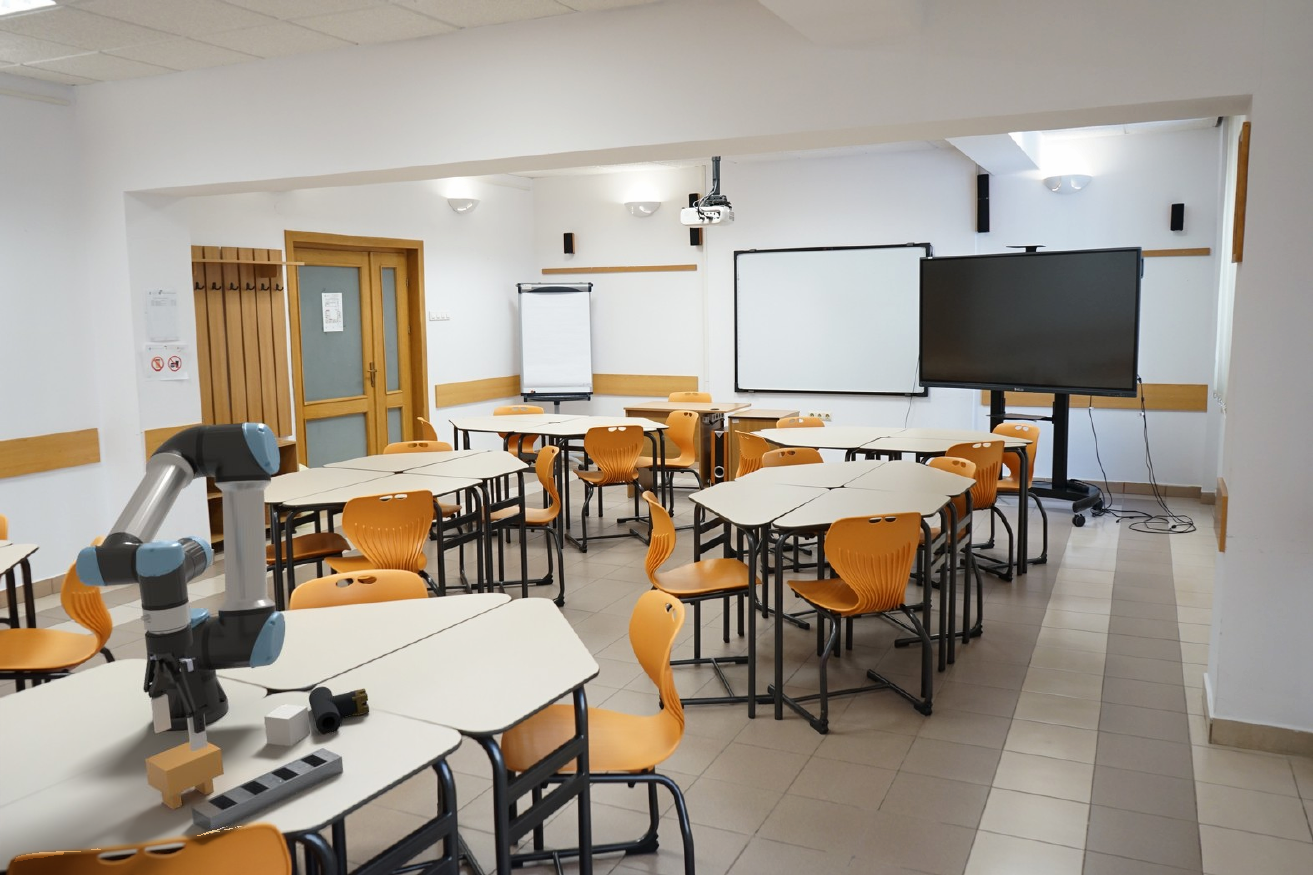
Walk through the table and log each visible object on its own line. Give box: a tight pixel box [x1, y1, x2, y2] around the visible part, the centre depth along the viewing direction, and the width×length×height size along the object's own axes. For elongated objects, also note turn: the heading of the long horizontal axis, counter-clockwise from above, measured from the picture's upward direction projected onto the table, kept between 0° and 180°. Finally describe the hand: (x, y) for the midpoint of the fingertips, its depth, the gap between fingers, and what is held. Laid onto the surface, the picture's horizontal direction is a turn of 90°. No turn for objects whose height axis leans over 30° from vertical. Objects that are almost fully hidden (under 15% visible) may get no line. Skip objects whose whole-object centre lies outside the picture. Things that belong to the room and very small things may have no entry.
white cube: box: [263, 703, 311, 747], centre depth 197 cm, size 6×6×6 cm
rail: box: [191, 747, 344, 832], centre depth 174 cm, size 6×26×3 cm, turn 142°
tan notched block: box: [144, 741, 225, 810], centre depth 174 cm, size 8×10×8 cm
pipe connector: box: [308, 686, 370, 735], centre depth 207 cm, size 12×5×15 cm
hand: (180, 739), depth 173 cm, fingers open, 13 cm apart
